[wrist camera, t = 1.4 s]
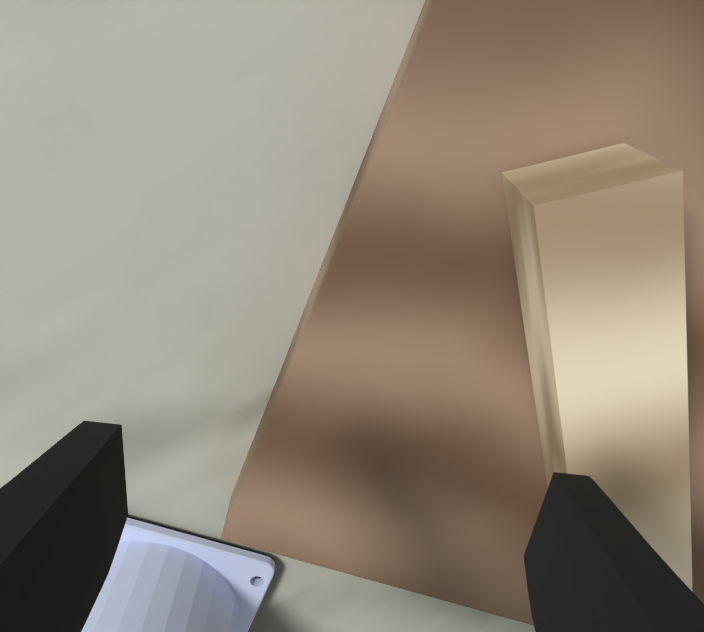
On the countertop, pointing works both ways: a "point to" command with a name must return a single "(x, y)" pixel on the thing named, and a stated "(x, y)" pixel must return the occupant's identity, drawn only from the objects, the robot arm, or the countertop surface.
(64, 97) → the countertop surface
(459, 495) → the wooden board
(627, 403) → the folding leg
